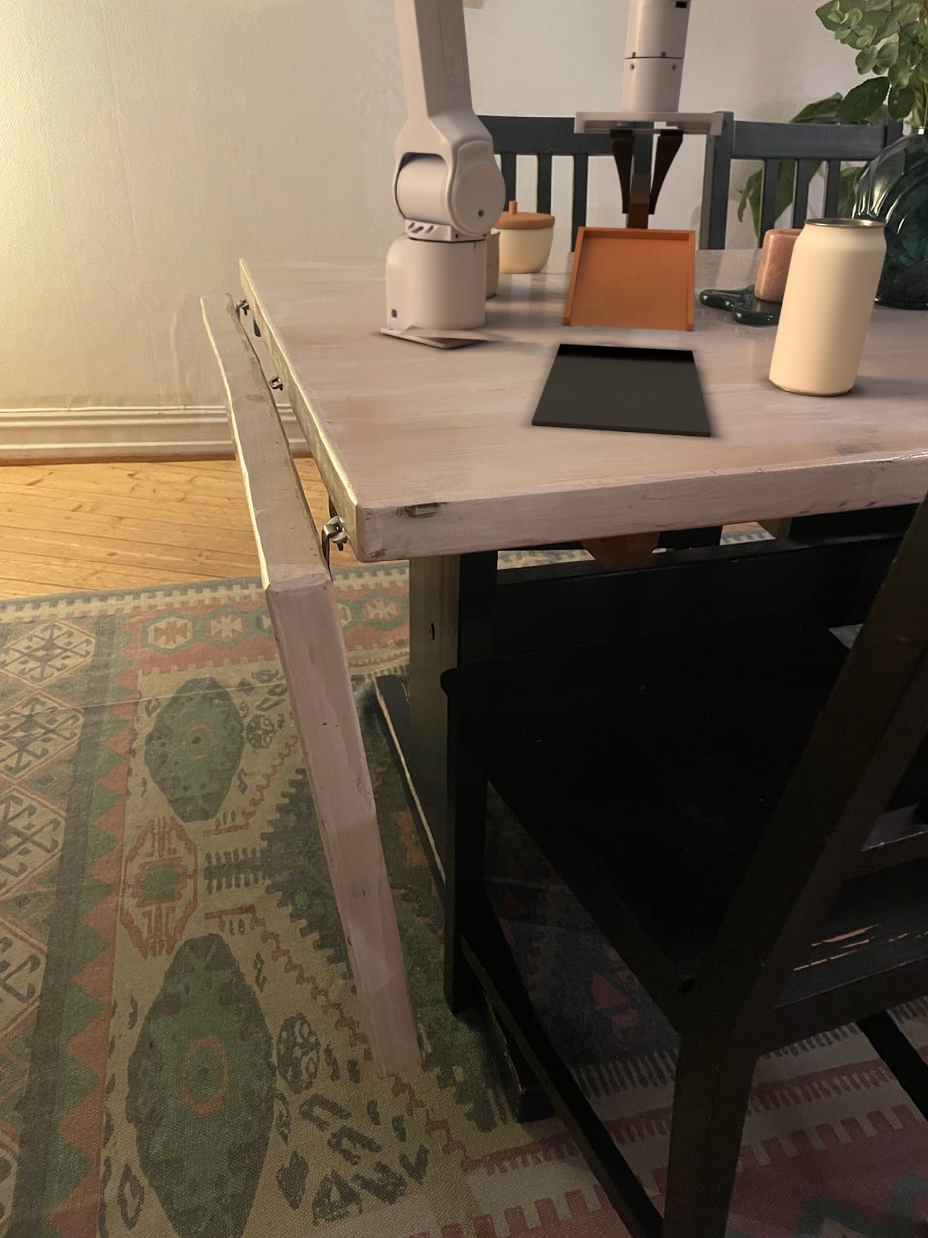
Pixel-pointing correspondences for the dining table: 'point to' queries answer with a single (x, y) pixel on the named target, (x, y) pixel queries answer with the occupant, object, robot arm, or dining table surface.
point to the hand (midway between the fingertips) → (638, 213)
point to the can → (827, 305)
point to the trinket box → (524, 240)
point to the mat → (623, 391)
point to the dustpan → (633, 273)
